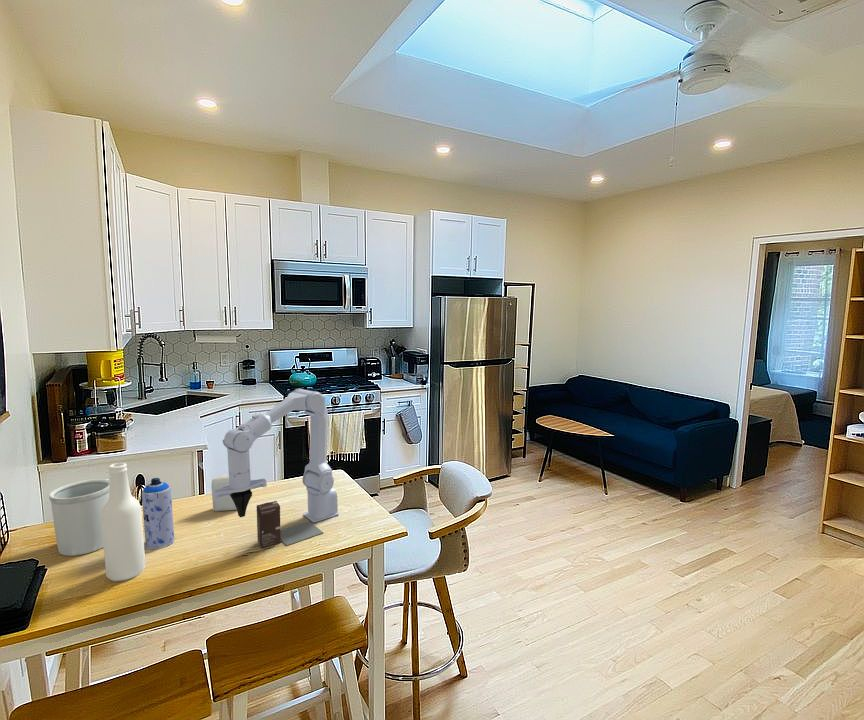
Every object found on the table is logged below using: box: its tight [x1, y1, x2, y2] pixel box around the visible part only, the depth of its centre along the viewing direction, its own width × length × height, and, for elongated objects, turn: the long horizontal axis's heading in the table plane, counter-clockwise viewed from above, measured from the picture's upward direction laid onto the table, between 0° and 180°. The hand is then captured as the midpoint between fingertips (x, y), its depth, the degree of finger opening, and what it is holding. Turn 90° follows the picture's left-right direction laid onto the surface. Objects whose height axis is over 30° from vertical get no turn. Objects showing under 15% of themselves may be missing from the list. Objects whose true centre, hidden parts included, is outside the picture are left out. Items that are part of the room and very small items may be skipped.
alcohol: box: [101, 462, 146, 582], centre depth 123 cm, size 9×9×30 cm
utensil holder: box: [48, 478, 109, 557], centre depth 138 cm, size 15×15×18 cm
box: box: [256, 500, 282, 549], centre depth 139 cm, size 6×4×12 cm
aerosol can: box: [141, 477, 176, 550], centre depth 139 cm, size 8×8×20 cm
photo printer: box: [211, 473, 237, 512], centre depth 162 cm, size 10×4×12 cm, turn 99°
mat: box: [280, 520, 324, 547], centre depth 146 cm, size 12×10×1 cm
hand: (241, 515), depth 135 cm, fingers closed
